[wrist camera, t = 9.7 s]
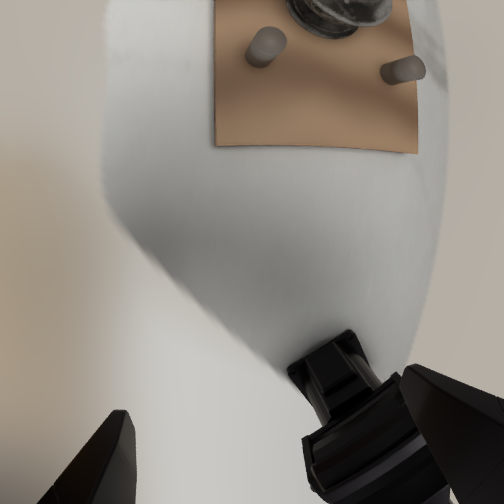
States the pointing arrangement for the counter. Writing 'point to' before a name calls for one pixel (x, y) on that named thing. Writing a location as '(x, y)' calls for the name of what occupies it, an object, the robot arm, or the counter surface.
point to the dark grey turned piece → (338, 15)
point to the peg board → (313, 81)
